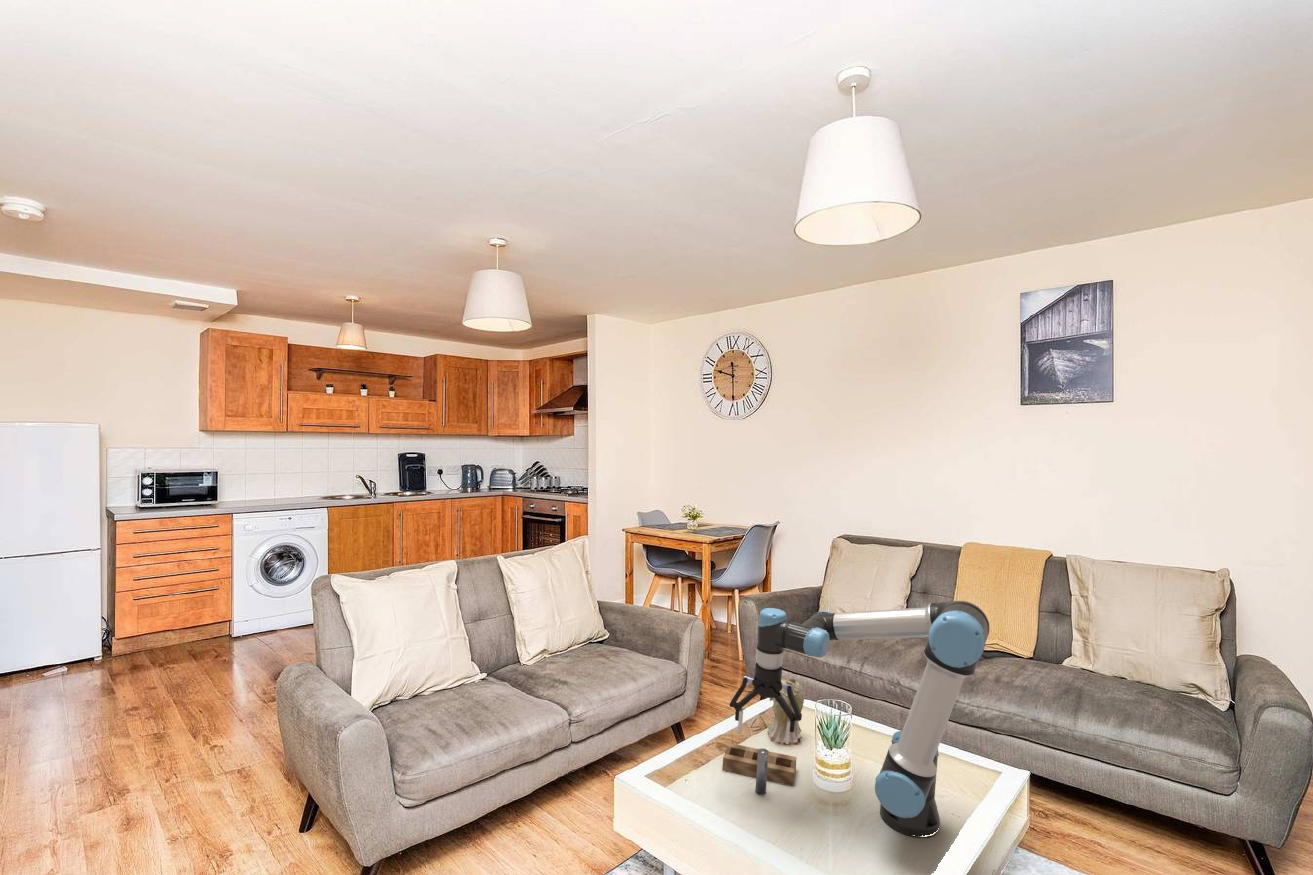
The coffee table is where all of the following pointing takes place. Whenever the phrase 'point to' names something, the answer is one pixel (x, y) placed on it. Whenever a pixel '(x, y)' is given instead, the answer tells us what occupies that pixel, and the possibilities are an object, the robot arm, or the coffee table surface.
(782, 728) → the figurine
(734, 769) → the hole block
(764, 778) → the peg
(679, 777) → the coffee table surface
